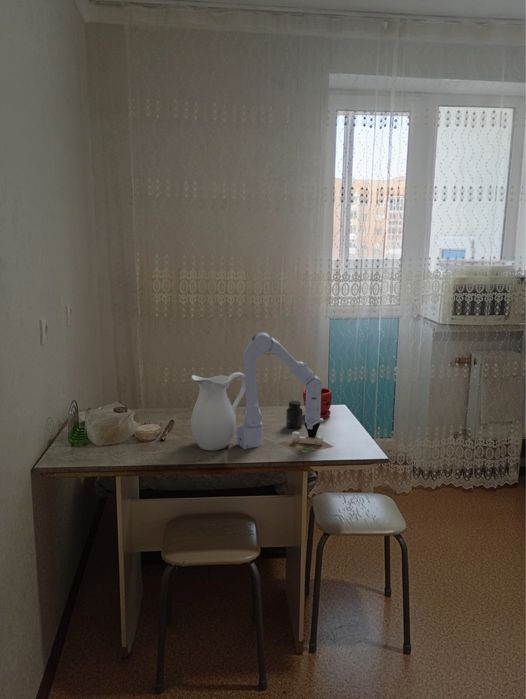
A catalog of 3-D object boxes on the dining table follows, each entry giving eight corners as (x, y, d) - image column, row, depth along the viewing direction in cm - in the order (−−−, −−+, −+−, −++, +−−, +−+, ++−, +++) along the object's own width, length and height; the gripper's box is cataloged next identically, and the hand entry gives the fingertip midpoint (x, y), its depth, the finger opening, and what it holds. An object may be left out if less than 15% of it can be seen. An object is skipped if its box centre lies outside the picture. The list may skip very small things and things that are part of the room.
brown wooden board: (299, 457, 192) (299, 453, 191) (278, 445, 203) (278, 442, 203) (334, 449, 200) (334, 446, 199) (312, 438, 212) (312, 435, 211)
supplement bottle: (283, 430, 221) (283, 402, 219) (290, 426, 227) (290, 399, 225) (298, 433, 218) (298, 405, 216) (304, 428, 224) (305, 401, 222)
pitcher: (204, 456, 192) (202, 382, 187) (184, 443, 206) (182, 373, 201) (259, 444, 205) (259, 374, 200) (236, 432, 219) (236, 366, 214)
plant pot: (328, 411, 249) (329, 386, 247) (333, 419, 236) (334, 393, 234) (300, 411, 248) (301, 386, 246) (304, 420, 235) (305, 394, 233)
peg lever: (291, 442, 203) (291, 433, 202) (293, 439, 206) (293, 431, 205) (322, 445, 199) (322, 437, 198) (323, 442, 202) (323, 434, 201)
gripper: (320, 413, 192) (319, 449, 195) (326, 402, 206) (324, 436, 209) (301, 412, 194) (300, 447, 197) (308, 401, 208) (307, 434, 210)
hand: (312, 441), depth 203 cm, fingers closed, pressing on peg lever
